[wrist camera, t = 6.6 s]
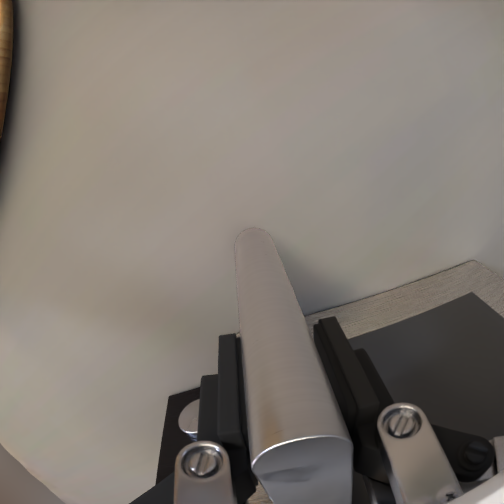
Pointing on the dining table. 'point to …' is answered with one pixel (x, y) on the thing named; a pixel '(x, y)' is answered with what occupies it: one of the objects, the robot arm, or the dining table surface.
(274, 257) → the microwave door
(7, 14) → the wooden plate
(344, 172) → the dining table surface
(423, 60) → the dining table surface
